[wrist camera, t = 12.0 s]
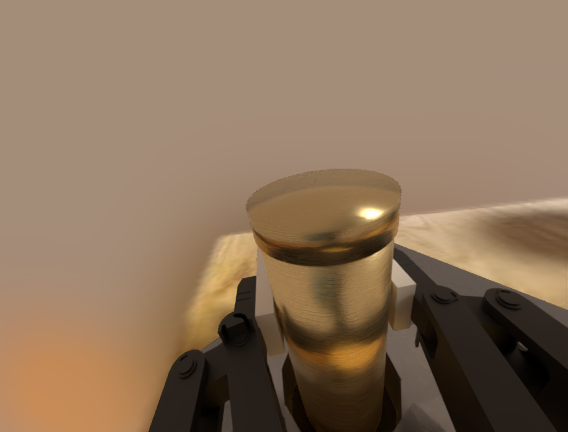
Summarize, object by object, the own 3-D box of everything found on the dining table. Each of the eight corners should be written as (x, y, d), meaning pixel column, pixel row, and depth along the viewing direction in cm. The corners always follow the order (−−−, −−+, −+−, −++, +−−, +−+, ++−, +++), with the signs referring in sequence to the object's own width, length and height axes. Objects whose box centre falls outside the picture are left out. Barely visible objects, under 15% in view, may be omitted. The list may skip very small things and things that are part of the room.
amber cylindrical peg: (336, 336, 17) (319, 164, 11) (401, 398, 13) (435, 178, 7) (284, 385, 14) (223, 200, 8) (344, 479, 10) (313, 256, 4)
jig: (369, 260, 27) (370, 233, 25) (554, 352, 15) (579, 314, 13) (199, 393, 17) (179, 364, 15) (358, 964, 5) (353, 1141, 3)
